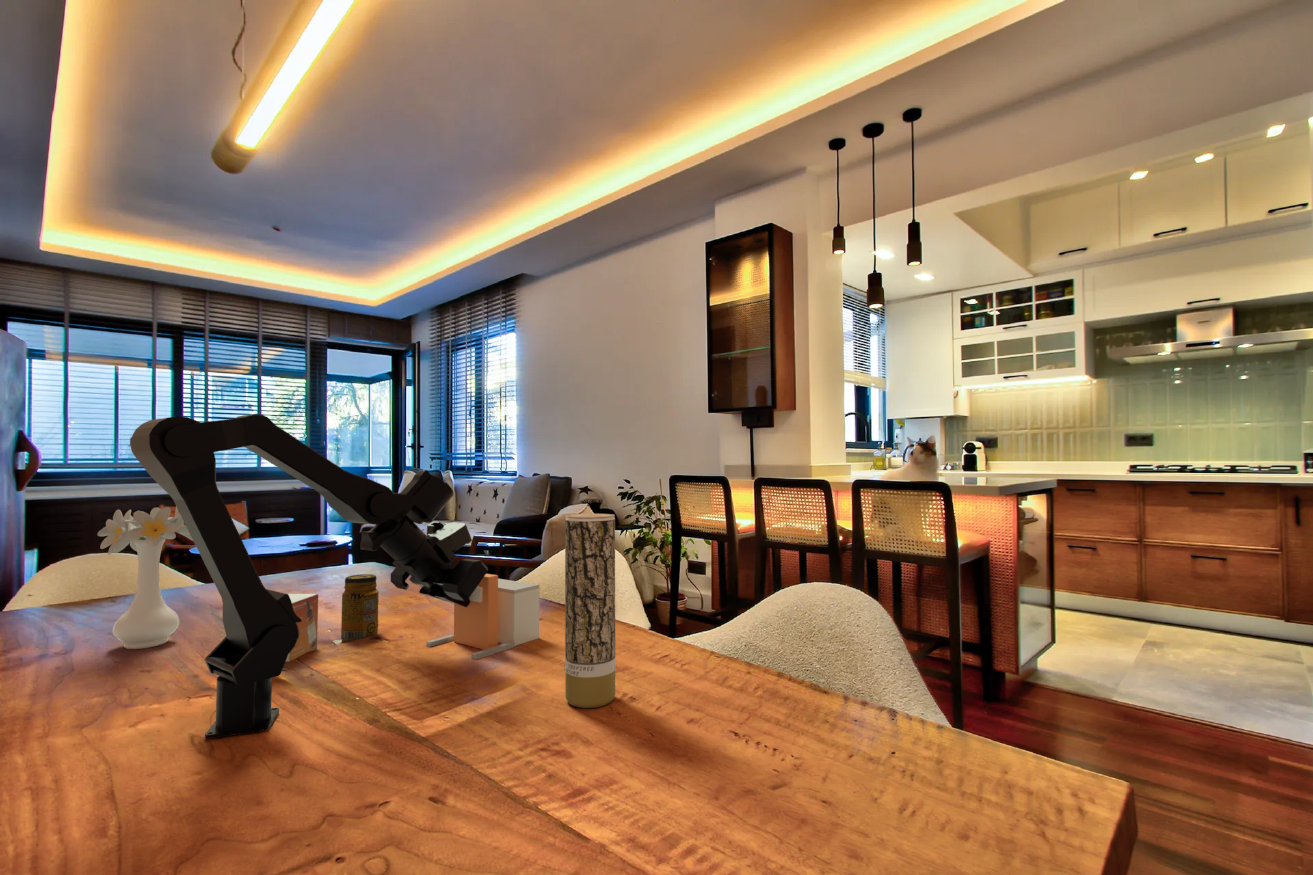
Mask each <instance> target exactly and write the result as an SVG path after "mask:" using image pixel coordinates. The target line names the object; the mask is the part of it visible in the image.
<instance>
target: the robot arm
mask: <svg viewBox="0 0 1313 875" xmlns="http://www.w3.org/2000/svg"><path fill="white" fill-rule="evenodd" d="M129 446H130V450H131V453H132V454H133V456H134V458H136V460H137V461H138V462H139V463H140V465H141V466H142V467H143V469H144V470H145V471H146V473H147V474H148V476H150V477H151V479H153V480H154V482H156V483H157V484H158V485H159V486H160V487H161V488H162V489H163V490H164V491H165V492H166V493H167V494H168V495H169V496H170V497H171V499H172V500H173V502H174V505H175V507H176V506H177V509H178V513H180V515H181V517H182V519H183V521H184V525H185V526H186V527H187V529H188V531H189V533H190V536H191V537H192V539H193V543H194V545H195V547H196V549H197V551H198V553H199V555H200V557H201V559H202V561H203V563H204V565H205V567H206V569H207V571H208V573H209V576H210V578H211V579H212V581H213V584H214V585H215V587H216V589H217V591H218V593H219V596H220V597H221V601H222V623H223V628H224V632H225V637H224V638H223V639H222V640H221V641H220V642H218V644H217V645H216V646H215V647H214V648H213V650H211V651H210V653H208V654H207V656H206V657H205V659H204V661H205V664H206V666H207V669H208V670H209V673H210V674H212V675H213V674H215V675H217V676H218V677H217V678H216V697H215V698H216V700H215V705H216V706H215V721H214V722H213V724H211V726H210V727H209V728H208V729H207V731H206V732H205V733H204V738H205V739H214V738H222V737H228V736H235V735H242V734H243V735H244V734H249V733H250V734H252V733H258V732H265V731H267V730H269V729H270V728H271V726H272V725H273V723H274V721H275V719H276V718H277V716H278V714H279V713H280V708H279V707H272V698H273V697H272V690H273V688H272V687H273V678H276V677H279V676H281V675H282V672H283V670H282V669H283V667H284V668H285V664H286V662H285V661H286V659H287V656H288V654H289V653H290V652H291V650H292V649H293V648H294V646H295V644H296V642H297V639H299V629H298V625H297V624H296V622H301V621H302V620H301V619H300V618H299V617H298V616H297V615H296V614H295V612H294V610H293V607H292V602H291V599H290V597H289V595H288V594H289V593H285V592H281V591H277V590H272V589H268V588H266V587H265V586H264V584H263V583H262V580H261V578H260V575H259V573H258V572H257V569H256V567H255V564H254V563H253V561H252V558H251V557H250V555H249V552H248V550H247V549H246V545H245V543H244V542H243V539H242V538H241V536H240V533H239V531H238V529H237V526H236V525H235V522H234V520H233V518H232V515H231V514H230V511H229V510H228V507H227V505H226V504H225V501H224V499H223V497H222V495H221V492H220V491H219V489H218V485H217V466H216V465H217V461H216V456H215V453H216V452H223V451H228V450H234V449H238V448H246V449H247V450H249V451H250V452H252V453H254V454H256V456H259V457H261V458H262V459H264V460H265V461H267V462H269V463H270V464H272V465H273V466H275V467H276V468H279V469H280V470H282V471H283V472H285V473H287V474H288V475H290V476H292V477H293V478H295V479H297V480H298V481H300V482H301V483H303V484H305V485H306V486H308V487H309V488H311V489H312V490H314V491H316V492H317V493H318V494H320V495H321V496H322V497H323V498H324V499H325V500H324V501H326V503H327V504H328V505H329V507H330V508H331V509H333V510H334V511H335V512H336V514H338V515H339V516H340V517H341V518H343V519H344V520H345V521H347V522H350V523H353V524H364V525H365V524H366V525H374V526H373V527H372V528H371V529H370V530H368V531H367V530H366V531H365V530H364V531H362V532H361V541H360V546H359V547H360V550H365V551H372V552H375V551H377V550H378V549H379V548H382V549H383V550H384V551H385V552H386V553H387V554H388V555H389V556H390V557H391V558H392V559H393V560H394V561H393V562H392V565H393V566H394V567H395V568H394V569H393V571H392V572H391V573H390V583H392V584H393V585H394V587H395V588H397V589H401V590H405V591H406V590H408V589H409V586H410V585H409V584H408V582H407V579H408V578H409V577H410V576H411V577H410V578H409V579H408V581H410V582H411V584H414V585H417V586H420V587H421V588H420V589H419V594H421V595H424V596H428V597H431V598H434V599H436V600H437V599H438V600H441V601H445V602H447V603H450V604H453V605H454V604H456V605H460V606H463V607H468V605H469V604H470V600H469V597H470V596H471V595H472V593H473V592H474V590H475V589H476V587H477V586H478V585H479V583H480V582H481V580H482V579H483V577H484V576H485V575H486V574H488V572H489V567H488V566H487V565H486V563H484V562H483V561H482V560H480V559H471V558H463V559H460V560H459V562H458V561H454V560H455V558H456V557H457V555H456V554H455V552H457V551H458V550H459V549H461V548H462V547H464V546H465V545H468V544H470V543H472V540H473V539H472V536H471V533H470V531H469V529H468V526H467V524H466V522H465V523H464V522H455V521H453V522H445V523H444V524H443V523H442V522H440V521H435V518H436V517H437V516H438V515H439V514H440V512H441V511H442V510H443V509H444V508H445V507H446V505H447V504H448V503H449V501H450V500H451V499H452V498H453V497H454V495H455V494H454V490H453V489H452V487H451V486H450V484H448V483H447V482H444V480H441V479H440V478H439V477H437V476H435V475H433V474H431V473H430V472H429V471H428V470H425V469H423V470H421V469H420V470H417V472H416V473H415V474H414V475H413V477H412V478H411V480H410V481H409V483H408V484H407V485H406V486H405V487H404V488H403V489H402V490H401V492H394V491H393V490H392V489H391V488H390V487H389V486H386V485H384V484H381V483H379V482H377V481H376V480H375V481H374V480H372V479H370V478H369V477H368V478H367V477H365V476H361V475H359V474H355V473H352V472H349V471H347V470H345V469H343V468H342V467H340V466H339V465H337V464H335V463H334V462H333V461H331V460H330V459H328V458H326V457H325V456H323V455H322V454H320V453H319V452H318V451H316V450H315V449H313V448H312V447H310V446H308V445H307V444H306V443H304V442H303V441H301V440H299V439H297V438H296V437H295V436H293V435H291V433H289V432H287V431H285V429H283V428H281V427H280V426H278V425H277V424H275V423H274V422H273V421H272V419H271V418H270V417H268V416H266V415H264V414H262V413H261V414H259V413H252V414H243V415H239V416H237V417H234V418H227V419H220V420H212V421H205V422H201V421H198V420H195V419H193V418H190V417H188V416H181V415H180V416H179V415H177V416H176V415H175V416H170V417H169V416H168V417H163V418H155V419H150V420H148V421H145V422H143V423H141V424H140V425H139V426H138V427H137V428H135V429H134V432H133V434H132V436H131V437H130V439H129ZM423 523H427V526H426V533H425V532H424V531H423V530H422V529H421V528H420V527H419V526H418V525H422V524H423Z"/></svg>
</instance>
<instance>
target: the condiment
mask: <svg viewBox="0 0 1313 875" xmlns="http://www.w3.org/2000/svg"><path fill="white" fill-rule="evenodd" d="M377 579H378V578H377V576H376V574H373V573H372V574H371V573H364V574H353V575H348V576H347V577H345V578H344V591H343V593H342V595H341V596H342V597H341V622H340V623H341V624H340V626H341V628H340V630H341V631H340V632H341V634H340V637H341V638H340V639H335V640H332V642H333V643H334V644H335V645H336V646H337V645H341V644H345V643H351V642H353V641H359V640H362V639H366V638H371V637H375V636H378V632H379V600H380V599H379V596H380V595H379V591H378V589H377V586H378V585H377Z"/></svg>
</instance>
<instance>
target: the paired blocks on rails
mask: <svg viewBox="0 0 1313 875" xmlns="http://www.w3.org/2000/svg"><path fill="white" fill-rule="evenodd" d="M539 638H540V584H536V583H530V582H523V581H516V580H510V579H502V578H498V643H500V644H498V646H495V647H491V648H488V649H485V650H484V649H481V650H478V651H475V652H473V653H471V659H473V660H478V659H482V658H484V657H488V656H491V655H494V654H497V653H501V652H503V651H506V650H509V649H513V648H515V646H518V645H521V644H525V643H528V642H531V641H534V640H537V639H539ZM451 641H453V642H454V633H453V634H448V635H445V636H441V637H438V638H435V639H430V640H426V645H425V646H426V647H428V648H430V647H434V646H438V645H441V644H445V643H448V642H451Z"/></svg>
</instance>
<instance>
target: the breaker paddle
mask: <svg viewBox="0 0 1313 875" xmlns="http://www.w3.org/2000/svg"><path fill="white" fill-rule="evenodd" d="M498 579H499V575H497V574H491V573H486V575H485V576H484V577H483V579H482V580H481V582H480V583H479V585H478V586H477V587H476V589H475V590H474V592H473V593H472V595H471V596H470V597H469V600H470V604H469V605H468V607H463V606H460V605H456V604H453V606H454V607H453V611H454V612H453V616H454V617H453V634H454V640H453V642H454V643H457V644H461V645H465V646H467V647H468V646H469V647H472V648H476V649H481V650H485V649H488V648H491V647H495V646H498V645H499V644H498V643H499V642H498Z"/></svg>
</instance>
